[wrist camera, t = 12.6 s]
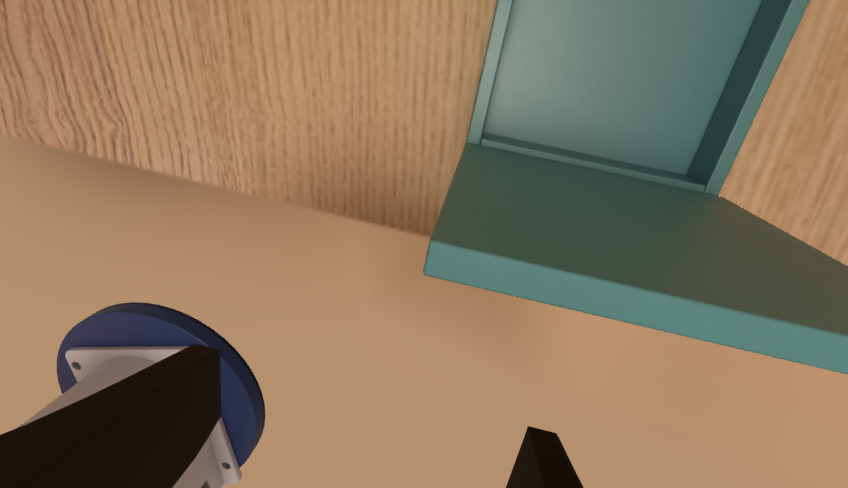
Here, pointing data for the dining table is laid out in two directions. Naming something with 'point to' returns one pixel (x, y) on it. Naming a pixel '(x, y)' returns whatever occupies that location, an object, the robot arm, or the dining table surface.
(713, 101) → the teal square tray
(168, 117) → the dining table surface
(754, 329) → the teal box lid
